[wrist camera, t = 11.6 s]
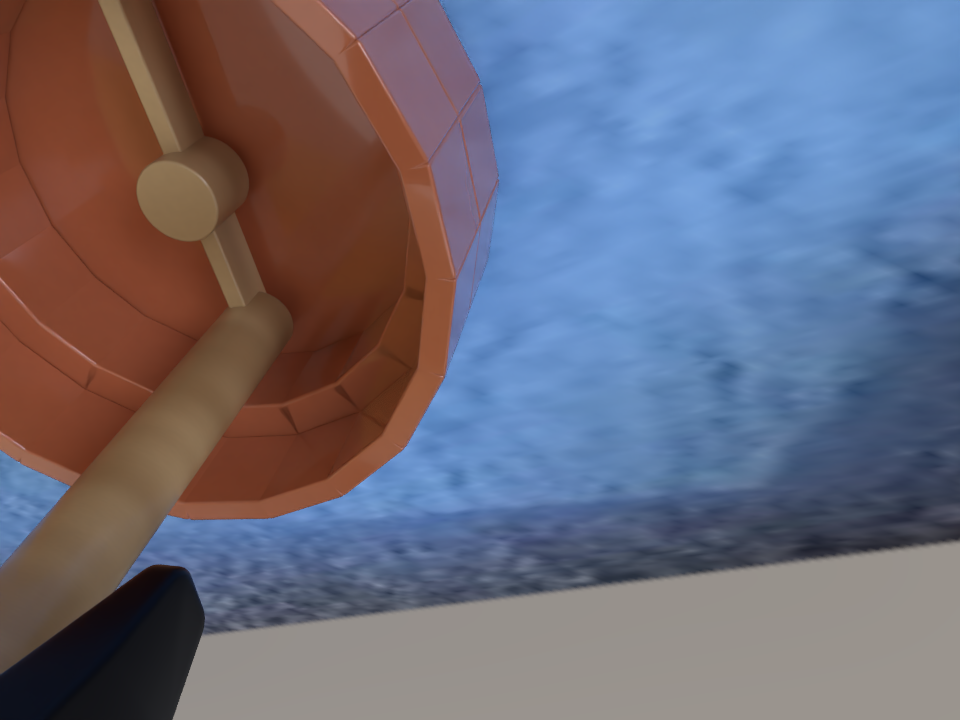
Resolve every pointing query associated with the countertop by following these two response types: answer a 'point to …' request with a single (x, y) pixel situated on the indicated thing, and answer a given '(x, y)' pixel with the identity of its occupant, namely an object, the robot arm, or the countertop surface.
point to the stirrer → (182, 394)
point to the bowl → (265, 225)
